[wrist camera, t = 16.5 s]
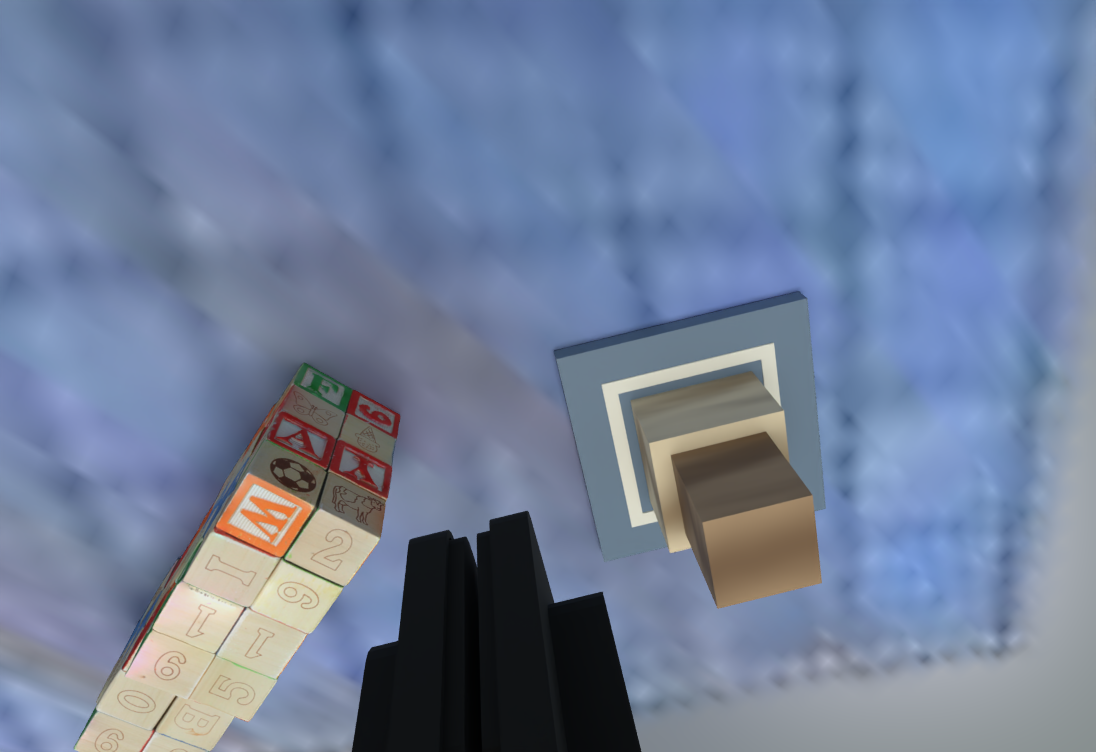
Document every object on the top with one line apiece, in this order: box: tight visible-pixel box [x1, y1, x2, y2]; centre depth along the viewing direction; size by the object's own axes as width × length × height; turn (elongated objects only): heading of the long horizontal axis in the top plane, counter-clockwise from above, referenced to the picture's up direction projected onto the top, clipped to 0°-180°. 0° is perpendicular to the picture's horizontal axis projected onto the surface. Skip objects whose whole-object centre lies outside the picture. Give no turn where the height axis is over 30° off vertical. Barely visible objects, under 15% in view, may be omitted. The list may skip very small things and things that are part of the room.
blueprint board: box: [554, 292, 826, 562], centre depth 47 cm, size 14×14×1 cm
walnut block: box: [671, 432, 822, 609], centre depth 39 cm, size 5×5×6 cm
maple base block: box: [630, 371, 790, 553], centre depth 44 cm, size 7×7×5 cm
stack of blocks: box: [74, 363, 400, 752], centre depth 42 cm, size 21×6×12 cm, turn 145°
